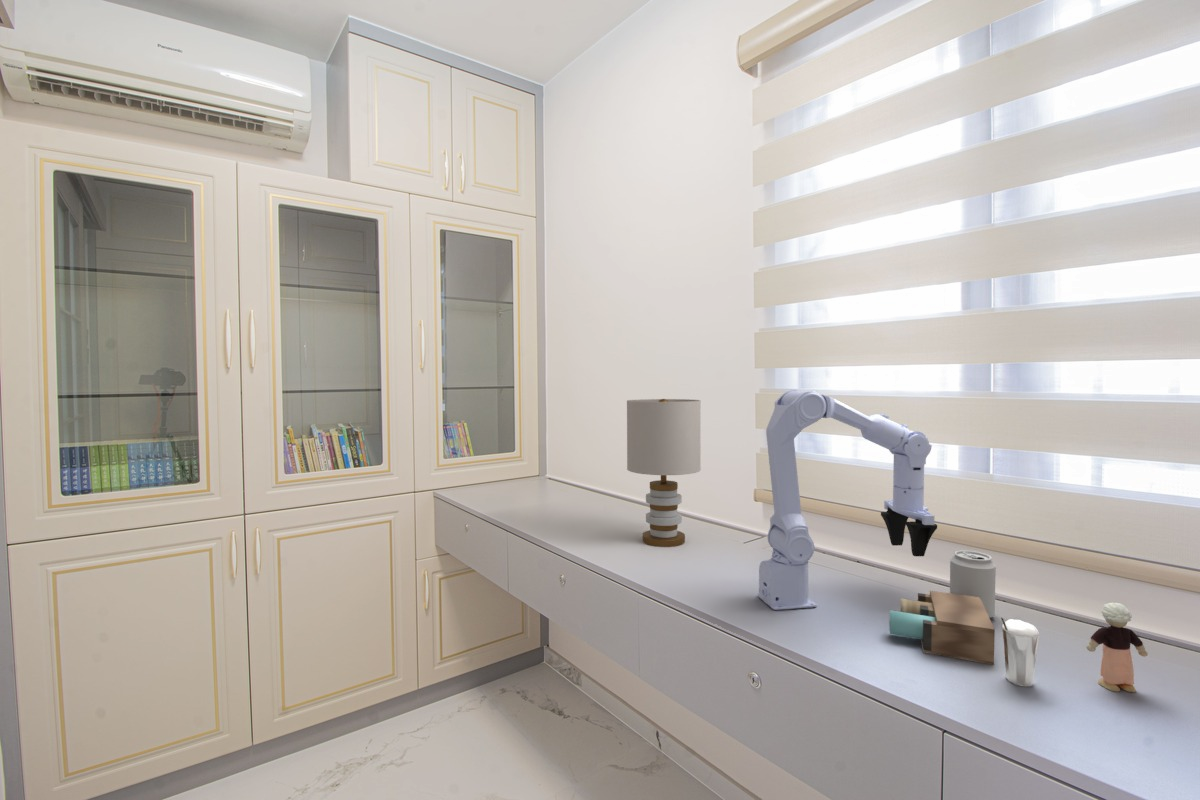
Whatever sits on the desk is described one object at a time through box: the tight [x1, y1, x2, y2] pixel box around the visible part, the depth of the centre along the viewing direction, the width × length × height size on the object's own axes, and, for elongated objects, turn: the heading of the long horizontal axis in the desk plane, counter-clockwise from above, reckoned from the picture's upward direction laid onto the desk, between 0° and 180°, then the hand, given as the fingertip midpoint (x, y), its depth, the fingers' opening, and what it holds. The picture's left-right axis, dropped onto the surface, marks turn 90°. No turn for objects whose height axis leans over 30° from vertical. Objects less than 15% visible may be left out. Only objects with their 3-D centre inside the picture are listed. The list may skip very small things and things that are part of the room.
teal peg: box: [889, 609, 936, 640], centre depth 100 cm, size 10×4×4 cm, turn 64°
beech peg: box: [900, 598, 933, 615], centre depth 105 cm, size 10×4×4 cm, turn 64°
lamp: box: [626, 398, 702, 548], centre depth 163 cm, size 21×21×41 cm
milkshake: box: [1000, 617, 1040, 688], centre depth 87 cm, size 4×5×10 cm
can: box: [949, 549, 997, 619], centre depth 111 cm, size 8×8×12 cm
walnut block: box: [917, 590, 996, 665], centre depth 101 cm, size 10×15×6 cm, turn 154°
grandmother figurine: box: [1086, 602, 1149, 693], centre depth 85 cm, size 8×4×13 cm, turn 92°
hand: (907, 550), depth 121 cm, fingers open, 7 cm apart
